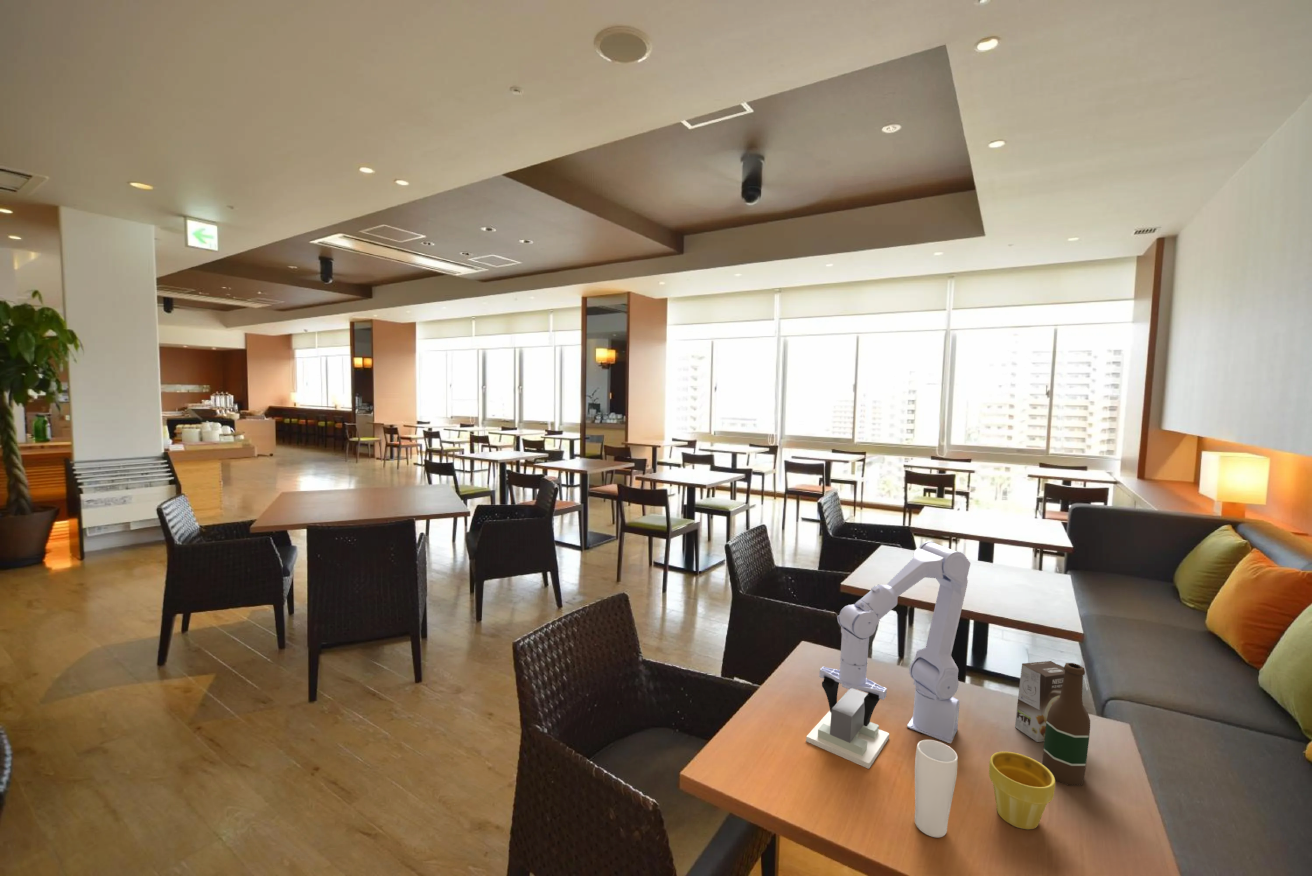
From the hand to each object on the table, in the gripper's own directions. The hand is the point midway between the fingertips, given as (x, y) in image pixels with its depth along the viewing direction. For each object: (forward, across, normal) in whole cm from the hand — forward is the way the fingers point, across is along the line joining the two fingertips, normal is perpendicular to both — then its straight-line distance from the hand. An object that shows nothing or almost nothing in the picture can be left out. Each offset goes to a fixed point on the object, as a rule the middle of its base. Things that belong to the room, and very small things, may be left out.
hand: (849, 717), depth 129 cm
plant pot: (+6, +33, -2) cm, 34 cm away
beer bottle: (+6, +39, +19) cm, 44 cm away
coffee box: (+6, +34, +34) cm, 48 cm away
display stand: (+5, 0, 0) cm, 5 cm away
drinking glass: (+6, +21, -16) cm, 27 cm away
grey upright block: (+2, 0, 0) cm, 2 cm away
